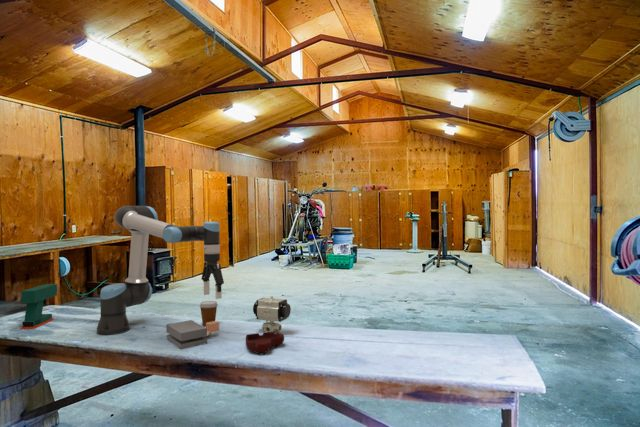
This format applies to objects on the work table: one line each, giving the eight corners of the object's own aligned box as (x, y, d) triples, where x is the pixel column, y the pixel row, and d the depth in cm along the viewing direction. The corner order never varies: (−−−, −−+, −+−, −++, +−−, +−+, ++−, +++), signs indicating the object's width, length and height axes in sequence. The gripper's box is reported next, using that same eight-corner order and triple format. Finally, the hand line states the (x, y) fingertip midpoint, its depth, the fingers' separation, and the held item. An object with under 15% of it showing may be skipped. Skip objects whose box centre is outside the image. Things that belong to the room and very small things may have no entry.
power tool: (53, 314, 240) (53, 281, 240) (65, 314, 241) (65, 281, 241) (19, 329, 209) (19, 291, 209) (34, 329, 209) (33, 291, 210)
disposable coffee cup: (212, 327, 209) (212, 304, 209) (196, 326, 211) (196, 304, 211) (221, 322, 218) (220, 301, 218) (205, 322, 220) (204, 300, 220)
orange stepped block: (184, 338, 182) (184, 329, 182) (179, 335, 188) (179, 326, 188) (220, 331, 193) (220, 323, 194) (214, 328, 199) (214, 320, 199)
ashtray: (258, 339, 188) (258, 329, 188) (287, 344, 181) (287, 333, 181) (233, 351, 172) (233, 339, 172) (264, 357, 165) (264, 345, 165)
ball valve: (251, 332, 199) (251, 297, 199) (260, 328, 207) (260, 294, 207) (283, 336, 192) (282, 299, 192) (291, 331, 200) (290, 296, 200)
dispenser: (181, 349, 175) (180, 333, 175) (166, 339, 190) (166, 324, 190) (209, 342, 183) (208, 327, 183) (192, 333, 198) (192, 319, 198)
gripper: (194, 252, 202) (195, 294, 202) (215, 255, 183) (216, 301, 183) (208, 251, 207) (209, 292, 207) (230, 254, 188) (231, 299, 187)
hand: (212, 296), depth 195 cm, fingers open, 13 cm apart
